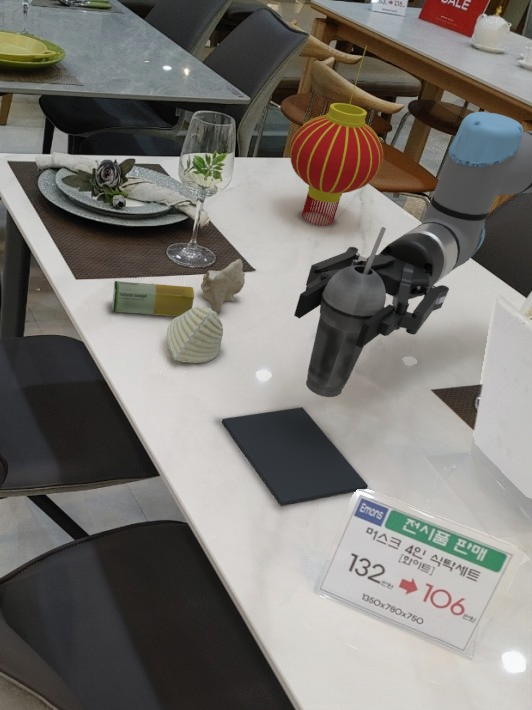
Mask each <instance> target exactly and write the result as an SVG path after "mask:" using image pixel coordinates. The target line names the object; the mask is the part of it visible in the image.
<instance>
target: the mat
mask: <svg viewBox="0 0 532 710" xmlns="http://www.w3.org/2000/svg"><path fill="white" fill-rule="evenodd" d="M221 424H222V425H223V426H224V427H225V429H226V430H227V432H228V434H229V435H230V436H231V437H232V439H233V440H234V442H235V443H236V444H237V446H238V447H239V449H240V450H241V452H242V453H243V455H244V456H245V457H246V458H247V460H248V461H249V463H250V464H251V466H252V467H253V468H254V470H255V472H256V473H257V474H258V475H259V477H260V478H261V480H262V481H263V482H264V484H265V486H266V487H267V488H268V490H269V491H270V492H271V494H272V495H273V497H274V498H275V500H276V501H277V503H278V504H279V505H280V506H281V507H282V506H286V505H292V504H298V503H302V502H303V503H304V502H306V501H307V502H308V501H312V500H319V499H323V498H328V497H332V496H337V495H338V496H339V495H343V494H348V493H353V492H357V491H356V490H357V489H363V490H367V489H368V487H369V485H368V484H367V483H366V481H365V480H364V478H362V476H361V475H360V474H359V473H358V472H357V470H356V469H355V468H354V467H353V466H352V464H351V463H350V462H349V461H348V460H347V459H346V457H345V456H344V455H343V454H342V452H340V450H339V448H337V447H336V445H335V444H334V443H333V442H332V441H331V439H330V438H329V437H328V436H327V434H326V433H325V432H324V431H323V430H322V429H321V427H320V426H319V425H318V424H317V423H316V421H315V420H314V419H313V418H312V417H311V415H310V414H309V413H308V411H306V410H305V408H304V407H303V406H301V407H294V408H288V409H281V410H276V411H274V410H273V411H267V412H260V413H253V414H246V415H240V416H232V417H225V418H222V421H221ZM363 490H362V491H363Z"/></svg>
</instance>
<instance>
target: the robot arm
mask: <svg viewBox="0 0 532 710" xmlns="http://www.w3.org/2000/svg"><path fill="white" fill-rule="evenodd" d="M441 170H442V171H441V172H440V176H439V178H438V181H437V184H436V186H435V189H434V192H433V193H432V197H431V200H430V201H429V204H428V207H427V209H426V211H425V215H424V218H423V220H422V222H421V223H420V224H419V225H418V226H416V227H414V228H412V229H410V230H409V231H408V232H405V233H404V234H402V235H401V236H400V237H398V238H397V239H395V240H393V241H392V242H390V243H388V244H387V245H386V246H385V247H384V248H383V249H382V250H381V251H380V252H379V253H378V254H376V255H375V257H374V259H373V262H372V264H371V267H370V268H371V269H372V270H374V271H375V272H376V273H377V274H378V275H379V276H380V277H381V279H382V281H383V283H384V286H385V290H386V295H389V296H390V297H392V301H391V304H390V303H389V304H387V305H385V306H384V308H383V309H382V310H381V311H379V312H378V313H377V314H375V315H374V316H373V317H371V318H370V319H368V320H367V321H366V322H364V323H363V325H362V328H361V331H360V334H359V337H358V339H357V342H356V346H358V347H360V348H362V347H363V346H364V347H365V346H366V345H368V344H369V343H370V342H372V341H373V340H374V339H375V338H377V337H378V336H379V335H381V336H383V337H387V336H390V335H391V334H392V333H393V332H394V331H399V330H400V329H401V328H403V329H405V333H407V334H409V335H413V336H414V335H416V334H417V333H418V332H419V330H420V329H421V328H422V326H424V323H425V322H426V321H427V320H428V318H429V317H430V315H431V314H432V313H433V312H435V311H436V310H439V309H441V308H443V307H442V306H443V304H444V302H445V299H446V297H447V295H448V293H449V290H450V288H449V286H446V285H442V284H441V285H437V286H436V284H437V283H439V282H440V281H441V280H442V279H444V278H445V277H447V275H449V274H450V273H451V272H452V271H454V270H455V269H456V268H458V267H460V266H462V265H464V264H466V262H468V261H469V260H470V258H472V257H474V255H476V252H477V251H478V250H479V249H480V248H481V246H482V245H483V242H484V240H485V238H486V237H485V236H486V223H485V222H486V220H487V219H488V216H489V214H490V211H491V209H492V207H493V204H494V202H495V199H496V198H497V197H501V196H507V195H508V196H509V195H519V194H520V195H521V194H530V193H532V130H528V131H527V130H525V131H524V127H523V125H522V124H521V123H520V122H519V121H518V120H515V119H513V118H511V117H509V116H506V115H503V114H499V113H495V112H486V111H475V112H471V113H469V114H467V115H466V116H465V117H464V118H463V120H462V121H461V122H460V125H459V127H458V131H457V132H456V134H455V136H454V139H453V140H452V143H451V144H450V146H449V148H448V154H447V155H446V159H445V161H444V165H443V167H442V169H441ZM369 257H370V255H369V256H367V257H365V256H362V255H361V254H360V253H359V248H358V247H356V246H349V247H348V248H347V250H345V251H344V252H342V253H339V254H337V255H334V256H331V257H329V258H327V259H324V260H321V261H319V262H316V263H313V264H311V266H310V269H309V272H308V276H307V279H306V283H305V286H306V287H305V290H304V291H303V292H301V293H300V294H299V297H298V300H297V304H296V307H295V310H294V314H293V316H294V317H296V318H298V319H301V318H303V317H304V316H305V315H307V314H309V313H310V312H312V311H314V310H315V309H316V308H318V307H320V305H321V300H322V299H321V295H322V293H323V291H324V289H325V288H326V286H327V284H328V282H329V280H330V279H331V278H332V277H333V276H334V275H335V274H336V273H337V272H339V271H340V270H342V269H344V268H346V267H349V266H354V265H361V266H366V265H367V262H368V260H369ZM418 297H423V298H422V299H421V301H420V302H419V303H418V305H417V306H416V307H415V309H414V310H413V311H412V312H410V311H408V308H409V306H410V303H409V300H413V299H415V298H418ZM364 347H363V348H364Z"/></svg>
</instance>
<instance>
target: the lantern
mask: <svg viewBox="0 0 532 710" xmlns="http://www.w3.org/2000/svg"><path fill="white" fill-rule="evenodd" d="M366 50H367V45H365V48H364V51H363V54H362V58H361V62H360V66H359V69H358V73H357V77H356V80H355V83H354V86H353V89H352V94H351V97H350V101H349V103H344V102H333V103H331V104H330V105H329V109H328V111H327V113H326V114H324V115H320V116H316V117H314V118H311V119H309V120H308V121H307V122H305V123H304V124H302V126H300V128H298V129H297V131H295V133H294V135H293V136H292V138H291V140H290V143H289V150H288V151H289V158H290V164H291V167H292V169H293V171H294V172H295V174H296V176H298V177H299V179H301V180H302V181H303V183H305V184H306V185H308V191H307V194H306V198H305V201H304V205H303V209H302V212H301V218H302V219H303V221H304V222H307V223H309V224H312V225H314V226H316V225H317V226H320V227H321V226H322V227H326V226H327V227H328V226H331V225H333V223H334V221H335V217H336V213H337V211H338V208H339V204H340V201H341V197H342V196H343V194H346V193H352V192H353V191H357V190H359V189H362V188H364V187H365V186H367V185H368V184H369V183H371V182H372V181H373V179H374V178H375V177H376V176H377V174H378V173H379V172H380V169H381V167H382V165H383V160H384V150H383V146H382V143H381V141H380V138H379V136H378V134H377V133H376V131H375V130H374V129H373V128H372V127H370V126H369V124H366V118H367V115H368V112H367V111H366V109H364V108H362V107H361V106H357V105H354V104H351V103H352V100H353V95H354V92H355V89H356V86H357V83H358V80H359V79H358V78H359V74H360V72H361V68H362V64H363V61H364V57H365V54H366V52H367V51H366Z"/></svg>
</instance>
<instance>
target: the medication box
mask: <svg viewBox="0 0 532 710" xmlns="http://www.w3.org/2000/svg"><path fill="white" fill-rule="evenodd" d="M194 299H195V291H194V287H193V286H184V285H171V284H158V283H157V284H156V283H144V282H131V281H119V280H114V282H113V291H112V302H111V310H112V313H114V312H116V313H130V314H142V315H154V316H168V317H178V316H180V315H182V314H183V313H185V312H187V311H188V310H190V309H192V308H193V304H194Z"/></svg>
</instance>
